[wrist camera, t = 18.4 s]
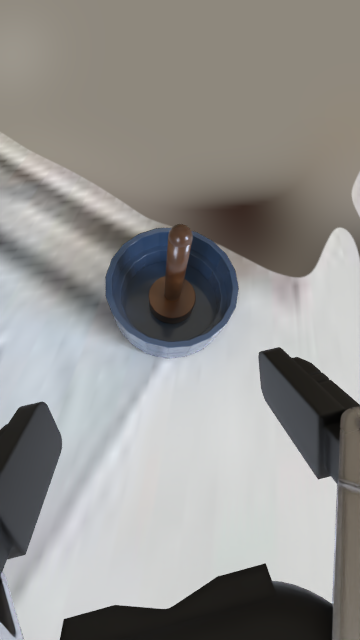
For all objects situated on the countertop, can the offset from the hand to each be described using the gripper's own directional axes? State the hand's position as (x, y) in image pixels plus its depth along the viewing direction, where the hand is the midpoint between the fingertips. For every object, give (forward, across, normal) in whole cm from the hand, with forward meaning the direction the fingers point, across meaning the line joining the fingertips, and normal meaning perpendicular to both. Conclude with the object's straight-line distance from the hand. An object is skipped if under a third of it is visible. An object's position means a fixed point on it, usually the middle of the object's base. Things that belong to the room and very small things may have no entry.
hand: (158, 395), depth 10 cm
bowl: (+22, -2, +4) cm, 23 cm away
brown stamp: (+22, -2, +4) cm, 22 cm away
